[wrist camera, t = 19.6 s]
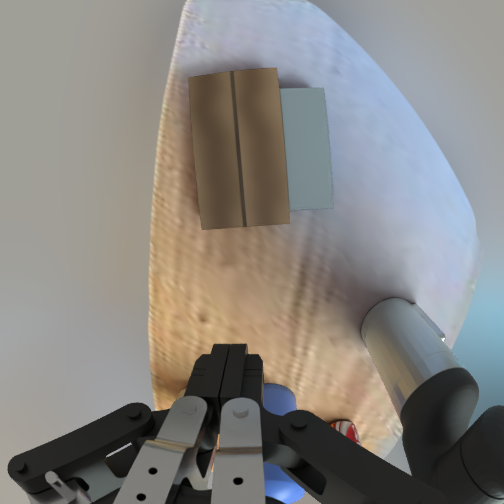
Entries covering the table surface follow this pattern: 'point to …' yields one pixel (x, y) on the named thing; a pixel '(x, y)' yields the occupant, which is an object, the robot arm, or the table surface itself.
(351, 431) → the soda can
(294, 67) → the table surface
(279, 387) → the water bottle
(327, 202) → the slate plank
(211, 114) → the floorboards
